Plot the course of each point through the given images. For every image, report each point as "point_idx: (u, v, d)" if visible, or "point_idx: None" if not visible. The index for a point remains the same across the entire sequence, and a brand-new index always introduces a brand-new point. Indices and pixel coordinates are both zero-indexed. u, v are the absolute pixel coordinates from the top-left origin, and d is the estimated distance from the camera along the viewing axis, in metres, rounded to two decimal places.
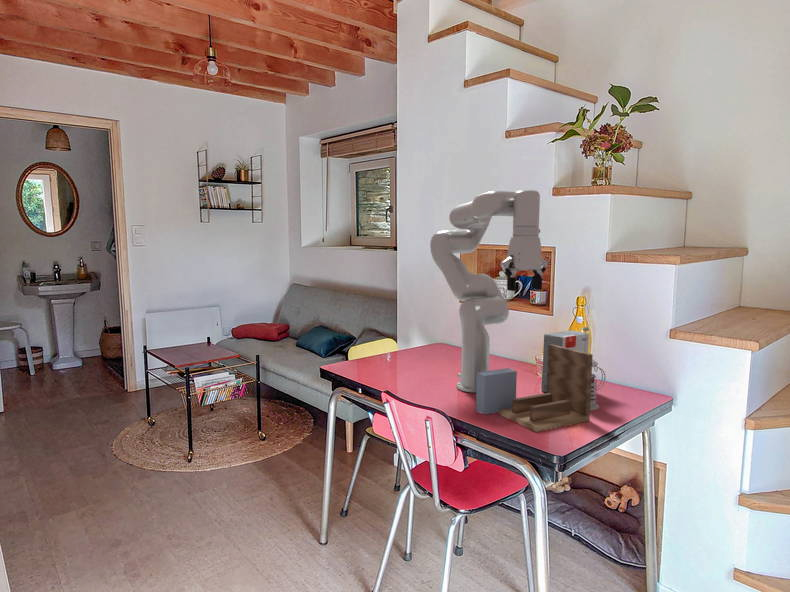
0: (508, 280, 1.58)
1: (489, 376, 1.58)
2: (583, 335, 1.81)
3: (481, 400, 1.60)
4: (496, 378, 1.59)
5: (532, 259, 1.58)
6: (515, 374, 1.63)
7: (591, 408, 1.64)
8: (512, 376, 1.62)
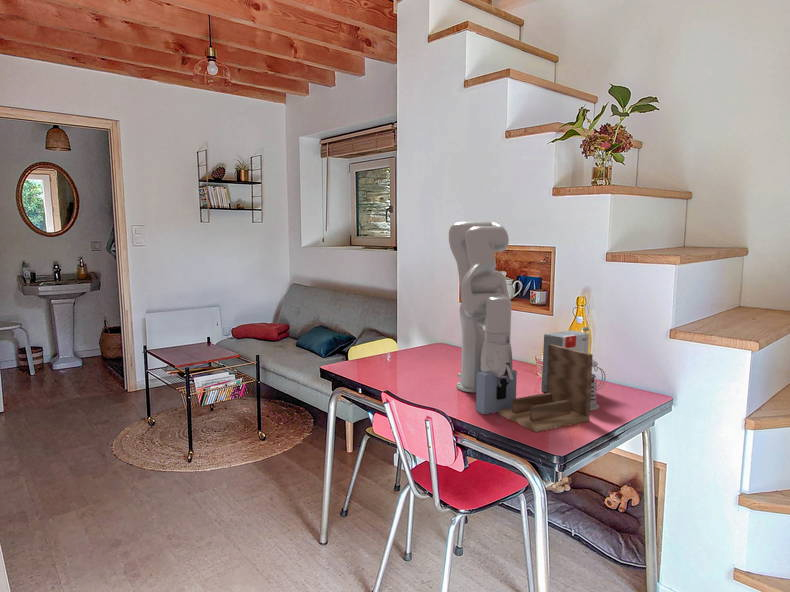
0: (502, 389, 1.59)
1: (489, 376, 1.58)
2: (583, 335, 1.81)
3: (481, 400, 1.60)
4: (496, 378, 1.59)
5: None
6: (515, 374, 1.63)
7: (591, 408, 1.64)
8: None
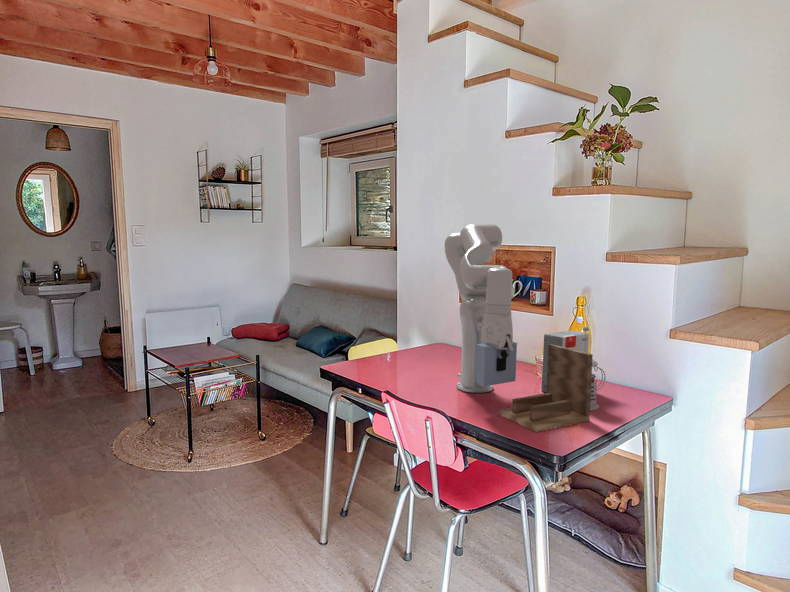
0: (502, 361, 1.59)
1: (489, 348, 1.58)
2: (583, 335, 1.81)
3: (481, 372, 1.59)
4: (496, 350, 1.59)
5: None
6: (515, 346, 1.62)
7: (591, 408, 1.64)
8: None
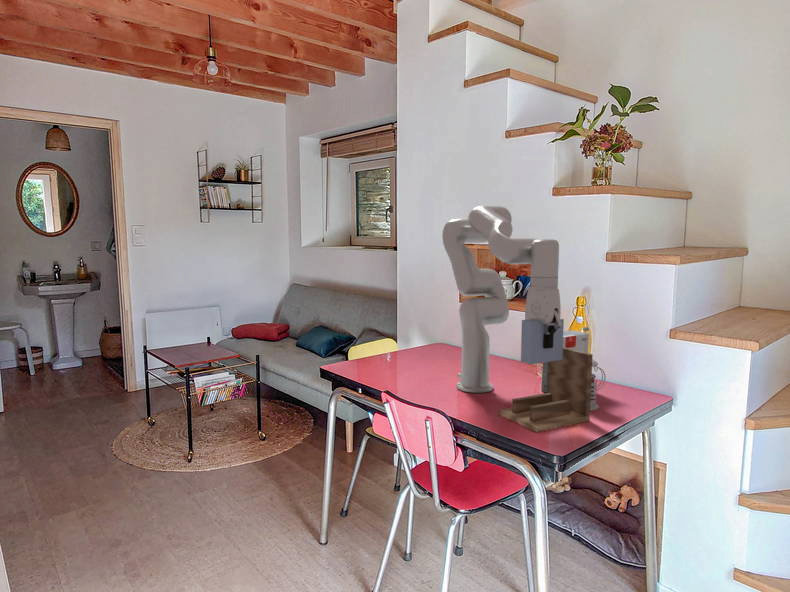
0: (550, 337, 1.50)
1: (536, 323, 1.49)
2: (583, 335, 1.81)
3: (527, 349, 1.50)
4: (543, 325, 1.50)
5: None
6: (562, 322, 1.53)
7: (591, 408, 1.64)
8: None
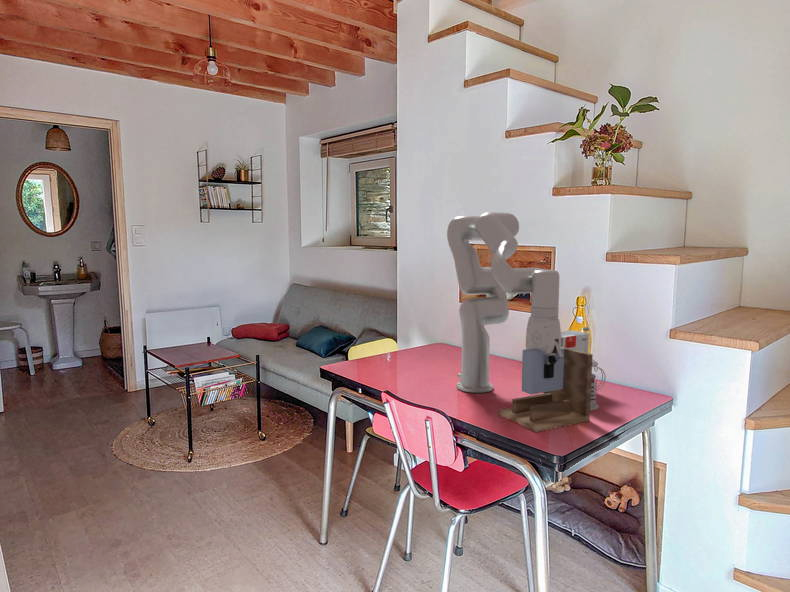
0: (550, 367, 1.51)
1: (536, 353, 1.50)
2: (583, 335, 1.81)
3: (527, 379, 1.51)
4: (543, 355, 1.51)
5: None
6: (562, 352, 1.54)
7: (591, 408, 1.64)
8: None
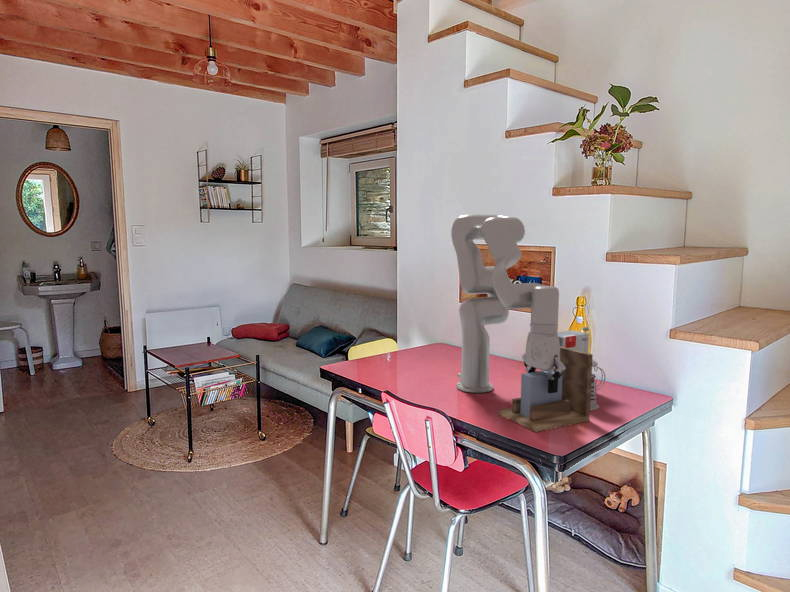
0: (554, 382, 1.50)
1: (535, 378, 1.51)
2: (583, 335, 1.81)
3: (526, 403, 1.52)
4: (542, 380, 1.52)
5: None
6: None
7: (591, 408, 1.64)
8: None
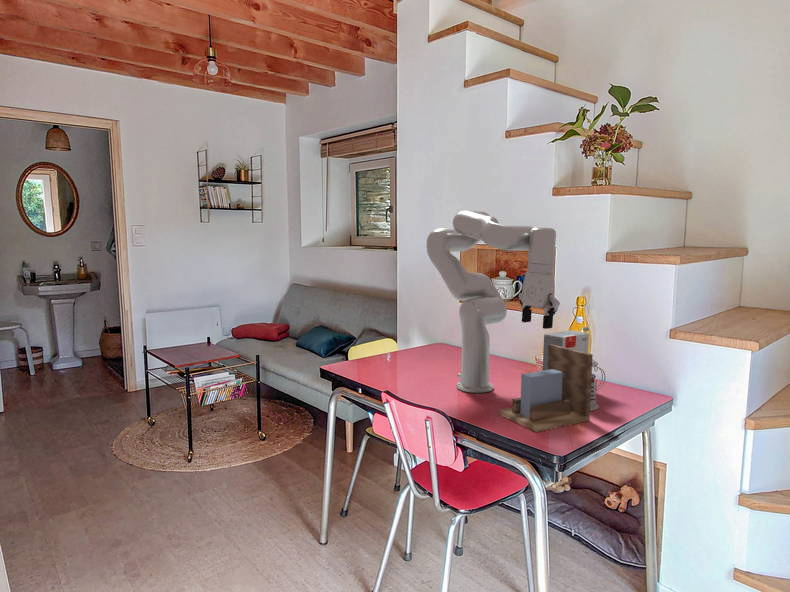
0: (549, 318, 1.57)
1: (535, 378, 1.51)
2: (583, 335, 1.81)
3: (526, 403, 1.52)
4: (542, 380, 1.52)
5: None
6: (561, 375, 1.55)
7: (591, 408, 1.64)
8: (558, 378, 1.55)
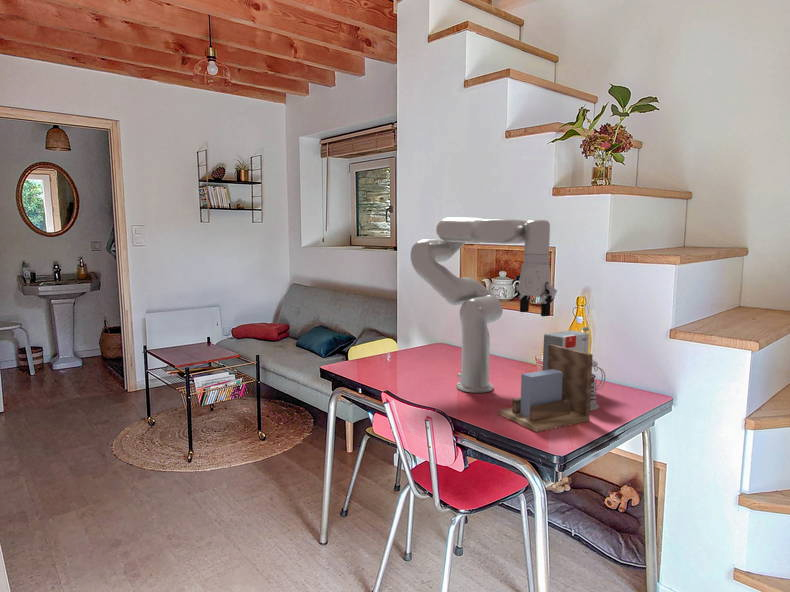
0: (547, 306, 1.63)
1: (535, 378, 1.51)
2: (583, 335, 1.81)
3: (526, 403, 1.52)
4: (542, 380, 1.52)
5: None
6: (561, 375, 1.55)
7: (591, 408, 1.64)
8: (558, 378, 1.55)
